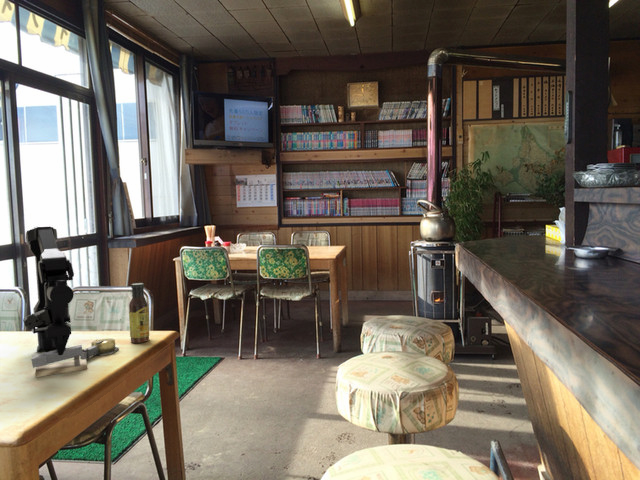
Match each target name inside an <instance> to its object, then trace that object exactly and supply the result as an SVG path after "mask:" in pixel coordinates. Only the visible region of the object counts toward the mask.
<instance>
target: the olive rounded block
mask: <svg viewBox="0 0 640 480" xmlns="http://www.w3.org/2000/svg"><path fill="white" fill-rule="evenodd" d="M115 347H116V339H115V338H101V339H95V340H93V341H91V346H90V347H87V348H82V350H83V356H79V358H80V360H83V359H86V360H88V359H90V358H92V357H93V355H95V354H97V353H105V352H110V351H113V350H114V349H115Z"/></svg>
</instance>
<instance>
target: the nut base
mask: <svg viewBox="0 0 640 480" xmlns="http://www.w3.org/2000/svg"><path fill="white" fill-rule="evenodd" d="M119 350H120V348H119V347H118V346H115V349H114V350H113V351H110V352H105V353H97V354H95V355H93V356H95V357H96V356H97V357H98V356H107V355H110V354H111V355H112V354H114V353H116V352H118V351H119ZM93 356H92V357H93Z"/></svg>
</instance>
